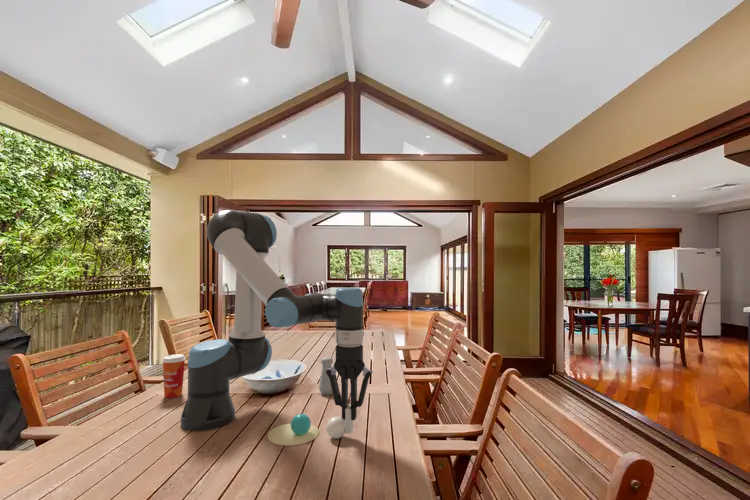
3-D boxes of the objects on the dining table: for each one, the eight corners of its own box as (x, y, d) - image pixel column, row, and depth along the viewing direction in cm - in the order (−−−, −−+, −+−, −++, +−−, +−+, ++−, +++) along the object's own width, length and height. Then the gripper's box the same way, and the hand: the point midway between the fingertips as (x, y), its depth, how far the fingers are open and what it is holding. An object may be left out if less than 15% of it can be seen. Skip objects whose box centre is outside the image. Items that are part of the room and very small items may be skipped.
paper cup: (156, 397, 137) (156, 357, 138) (174, 390, 144) (175, 353, 145) (172, 400, 134) (172, 359, 135) (190, 393, 141) (190, 355, 142)
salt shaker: (331, 396, 138) (332, 360, 138) (316, 395, 139) (316, 359, 140) (336, 391, 144) (336, 356, 144) (322, 390, 145) (322, 355, 145)
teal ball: (308, 437, 104) (289, 440, 105) (315, 428, 110) (297, 431, 110) (304, 416, 105) (285, 419, 105) (311, 409, 110) (293, 412, 111)
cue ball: (347, 436, 102) (330, 445, 103) (352, 427, 108) (335, 436, 108) (337, 417, 103) (320, 427, 103) (342, 409, 108) (326, 418, 109)
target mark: (258, 443, 102) (258, 442, 102) (280, 421, 116) (280, 421, 116) (308, 447, 100) (308, 446, 100) (325, 425, 113) (325, 424, 113)
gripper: (322, 346, 103) (321, 435, 102) (370, 348, 101) (370, 439, 100) (330, 340, 111) (330, 424, 110) (375, 342, 108) (375, 427, 107)
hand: (349, 431), depth 105 cm, fingers closed
